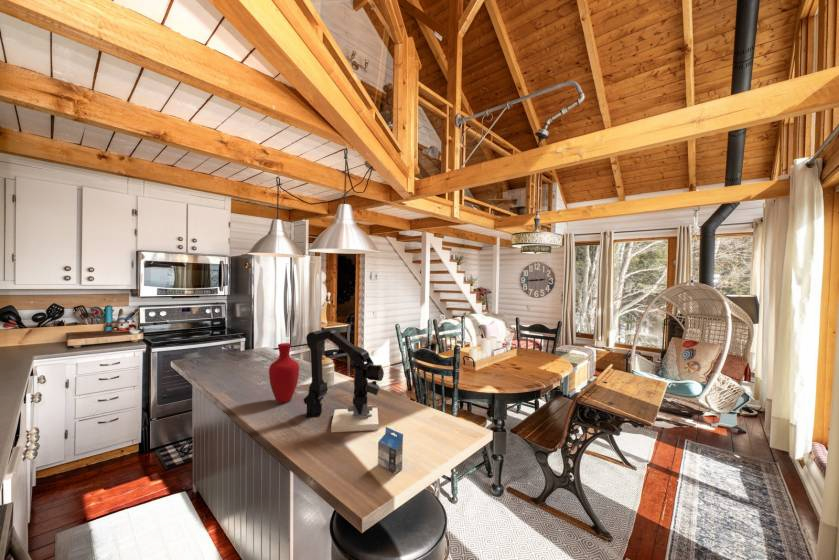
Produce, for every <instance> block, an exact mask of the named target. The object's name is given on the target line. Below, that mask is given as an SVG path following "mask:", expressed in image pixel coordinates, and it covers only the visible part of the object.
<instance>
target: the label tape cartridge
mask: <svg viewBox="0 0 839 560" xmlns="http://www.w3.org/2000/svg"><path fill="white" fill-rule="evenodd" d="M403 444H404V434H403V433H401V432H399V431H397V430H395V429H392V428H390V427H387V426H385V432H384V434H383V436H382V437H381V438H380V439H379V440H378V442H377V445H378V446H377V465H379V466H380V467H382V468H383V469H386V470H388V471H389V472H391V473H393V474H395V475H396V474H398V473H399V472H401V471H402V470H403V454H404V453H403V452H404V450H403V448H404V447H403V446H404V445H403Z"/></svg>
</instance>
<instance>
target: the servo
mask: <svg viewBox="0 0 839 560" xmlns="http://www.w3.org/2000/svg"><path fill="white" fill-rule="evenodd" d="M352 404H353V403H352ZM372 408H373V405H372V404H368V403H367V404H364V405H363V409H362V413H361V414H360V415H359V414H358V411H357V409H356V407H355V404H353V406H348V407H347V409H348V412H350V411H353V417H357V416H367V414H369V413H370V411H372Z"/></svg>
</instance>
